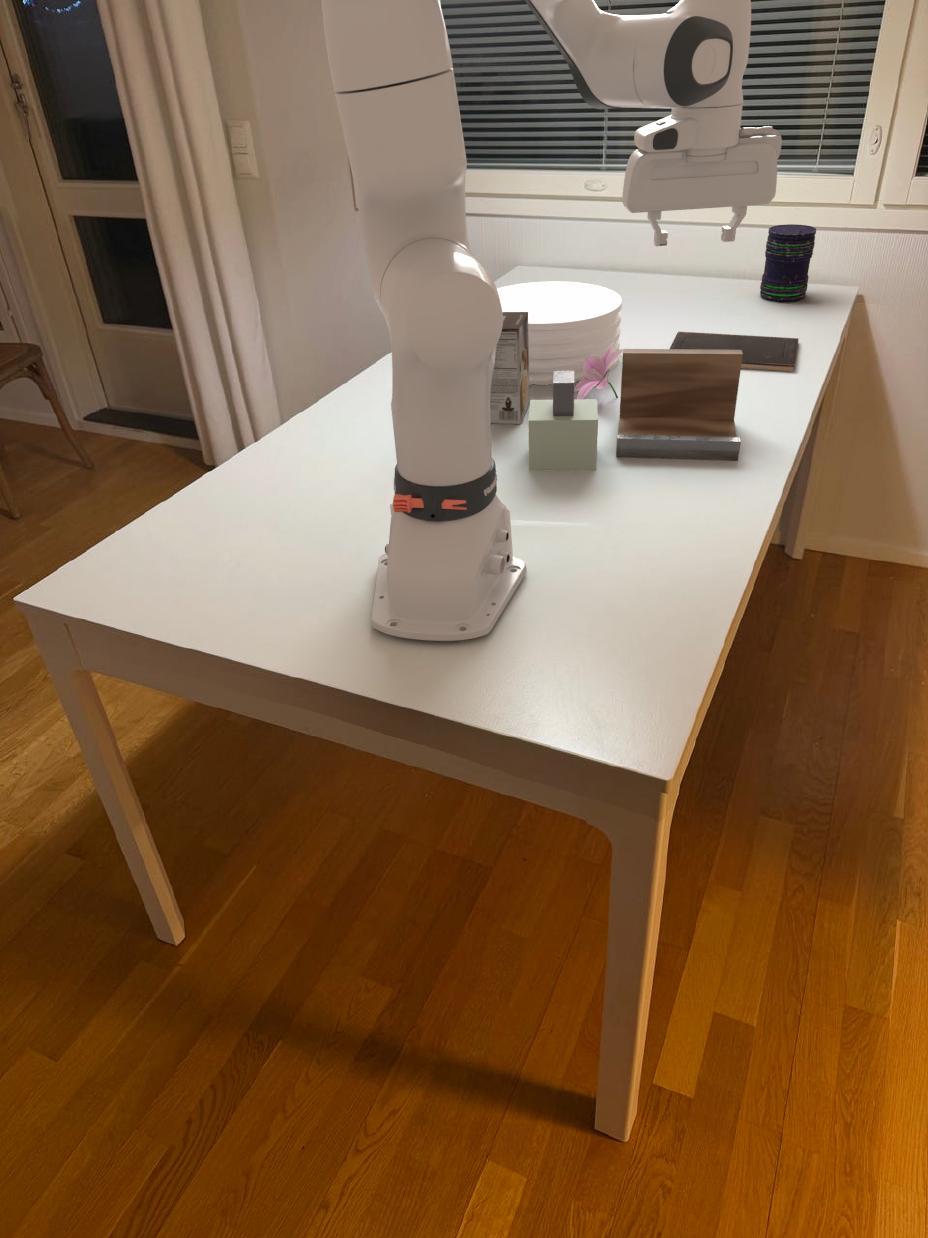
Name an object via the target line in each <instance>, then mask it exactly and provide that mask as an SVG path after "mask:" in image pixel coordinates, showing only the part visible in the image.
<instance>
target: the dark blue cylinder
mask: <svg viewBox="0 0 928 1238" xmlns="http://www.w3.org/2000/svg"><path fill="white" fill-rule="evenodd" d="M816 234H817V228H816V227H814V226H811V225H806V224H798V223H797V224H790V223H789V224H778V225H773V226H770V227H769V228H768V236H767V241H766V243H765V244H766V245H765V252H764V257H765V260H764V261H765V263H764V269H763V270H764V271H763V274H762V275H761V282H760V287H759V291H760V292H759V295H760V298H761V299H763V300H764V301H768V302H771V303H772V302H773V303H780V304H781V303H786V304H787V303H795V302H800V301H803V300H804V298H805V296H806V294H807V290H808V286H809V285H808V282H809V269H810V263H811V259H812V257H813V255H814V253H813V252H814V249H815V243H816V242H815V240H816Z"/></svg>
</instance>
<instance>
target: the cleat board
mask: <svg viewBox="0 0 928 1238" xmlns="http://www.w3.org/2000/svg"><path fill="white" fill-rule="evenodd" d="M622 350H623V352H622V363H621V365H622V366H621V381H620V382H621V383H620V399H619V400H620V403H619V416H618V417H619V420H618V429H617V435H616V436H617V437H616V449H615V451H616V453H615V457H616V458H642V459H643V458H644V459H646V458H648V459H650V458H651V459H677V460H678V459H679V460H681V459H683V460H709V461H711V460H712V461H739V456H740V452H741V451H740V449H741V443H742V441H741V437H738V434H737V429H736V423H735V417H736V409H737V408H736V407H737V400H738V391H739V385H740V379H741V377H740V376H741V371H742V370H741V369H742V368H741V363H742V356H743V353H742V350H702V349H670V348H668V349H667V348H649V349H648V348H623V349H622Z"/></svg>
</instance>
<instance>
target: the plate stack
mask: <svg viewBox="0 0 928 1238" xmlns="http://www.w3.org/2000/svg"><path fill="white" fill-rule="evenodd" d="M496 288H497V291H498V294H499V297H500V301H501V306H502V312H528V348H529V385H531V384H543V385H542V386H546V385H547V386H548V385H549V384H551V385H553V375H554V371H574V383H576V382H580V381H581V379H583V378H584V377H585V375H584V373H583V362H584V359H585V357H586V356H587V355H589V354H595V355H598V356H600V357H601V356H602V354H603V353H604V351H605V350H606V349H607V347H608V346H609V345H610V344H611V343H612V342H613V341H614V345H613V348H612V351H611V352H613V351H616V350H620V346H621V345H620V342H621V340H620V336H621V322H622V312H621V310H622V306H623V299H622V297H621V295H620V294H618V293H617V292H616V291H615V290H612V289H610V288H607V287H604V286H601V285H597V284H592V283H591V284H590V283H586V282H585V283H583V282H577V281H556V280H555V281H535V282H533V281H532V282H526V283H525V282H524V283H523V282H522V283H517V284H512V285H506V286H502V287H496ZM619 360H620V356H619V357H618V358H617V359H616V360H615V361H614V362H613V363H612V364H611V365H610V367H609V370H608V372H609V371H611V370H613V368H614V367H616V366H617V364H618V362H619ZM544 384H546V385H544ZM549 386H550V385H549Z"/></svg>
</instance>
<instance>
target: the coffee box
mask: <svg viewBox="0 0 928 1238" xmlns="http://www.w3.org/2000/svg"><path fill="white" fill-rule="evenodd" d="M502 313H503V326H502V332H501V335H500V338H499V341H498V343H497V346H496V355H495V364H494V370H493V377H492V384H491V393H490V424H499V425H501V424H502V425H503V424H505V425H506V424H507V425H521V424H522V422H523V421H524V417H525V415H526V413H527V411H528V407H530V384H529V348H528V312H502Z"/></svg>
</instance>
